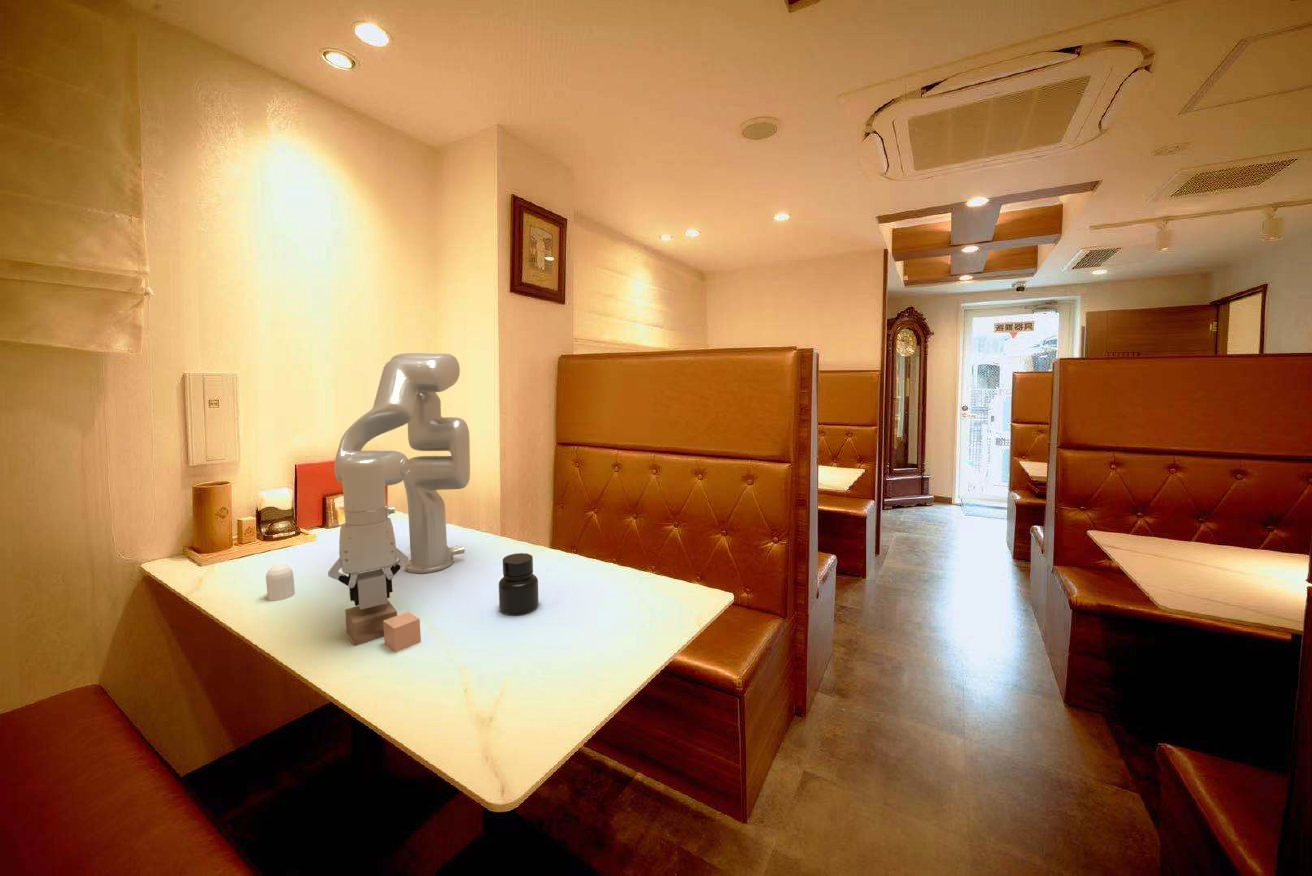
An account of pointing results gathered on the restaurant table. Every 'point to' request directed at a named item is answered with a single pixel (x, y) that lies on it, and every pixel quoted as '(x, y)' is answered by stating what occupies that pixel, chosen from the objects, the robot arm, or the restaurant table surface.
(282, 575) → the capsule
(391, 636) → the terracotta cube
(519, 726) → the restaurant table surface
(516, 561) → the ink bottle
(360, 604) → the grey block
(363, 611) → the walnut block
